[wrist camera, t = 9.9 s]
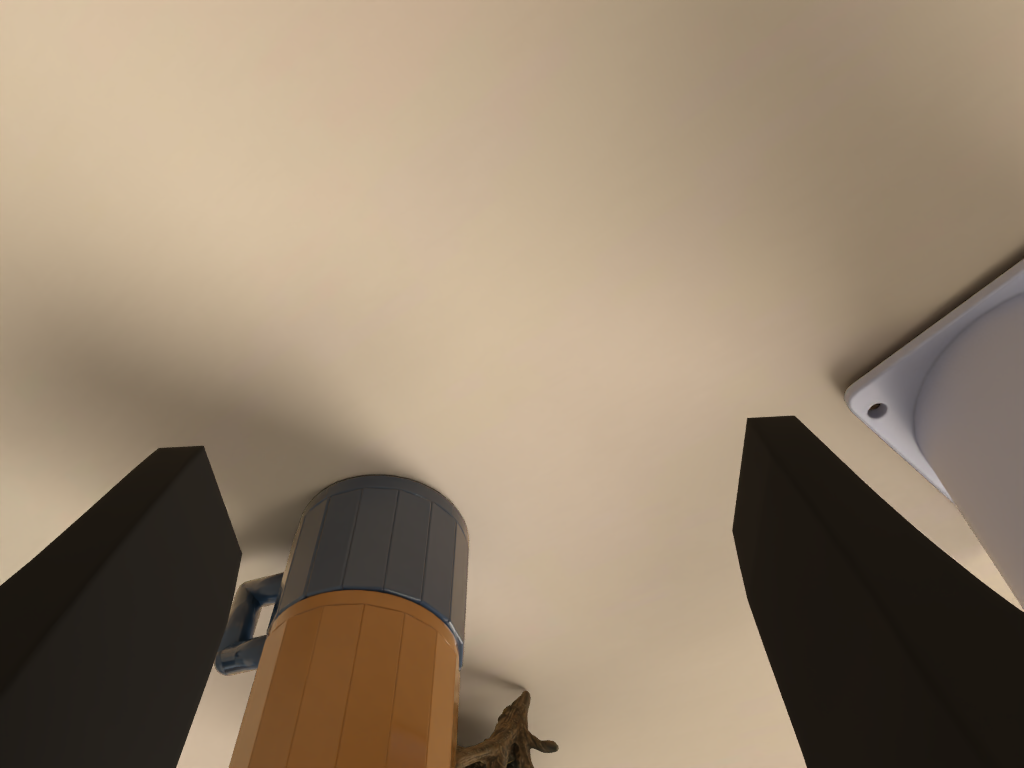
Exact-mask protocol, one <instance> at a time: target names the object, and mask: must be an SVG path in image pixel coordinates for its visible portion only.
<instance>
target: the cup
mask: <svg viewBox="0 0 1024 768" xmlns="http://www.w3.org/2000/svg"><path fill="white" fill-rule="evenodd" d="M468 556H469V534H468V530H467V526H466V524H465V521H464V519H463V517H462V516H461V514H460V513H459V511H458V510H457V509H456V507H455V506H454V505H453V504H452V503H451V502H450V501H449V500H448V499H447V498H446V497H444V496H443V495H441V494H440V493H439V492H437V491H435V490H434V489H432V488H430V487H428V486H426V485H423V484H421V483H419V482H416V481H413V480H409V479H406V478H401V477H396V476H387V475H368V476H359V477H354V478H350V479H346V480H343V481H340V482H338V483H336V484H333V485H331V486H329V487H328V488H326V489H325V490H323V491H321V492H320V493H319V494H318V495H317V496H316V497H314V498H313V499H312V501H311V502H310V503H309V504H308V505H307V507H306V509H305V510H304V512H303V515H302V517H301V520H300V523H299V527H298V530H297V532H296V534H295V537H294V540H293V543H292V547H291V550H290V554H289V557H288V561H287V564H286V568H285V571H284V572H283V573H279V574H275V575H271V576H267V577H263V578H259V579H254V580H250V581H247V582H244V583H243V584H242V585H240V586H239V588H238V589H237V592H236V595H235V598H234V601H233V604H232V607H231V610H230V614H229V618H228V623H227V626H226V629H225V632H224V635H223V638H222V641H221V643H220V646H219V649H218V652H217V655H216V658H215V660H214V667H215V669H216V670H217V671H218V672H219V673H220V674H222V675H225V676H230V675H235V674H240V673H244V672H249V671H253V670H257V668H258V665H259V661H260V658H261V654H262V651H263V647H264V644H265V640H266V638H267V635H264V636H260V637H256V638H253V635H254V632H255V629H256V626H257V622H258V619H259V616H260V612H261V609H262V607H265V606H269V605H273V604H275V605H274V609H273V612H272V616H271V619H270V623H269V626H268V630H267V634H268V632H269V629H270V627H271V626H272V624H273V622H274V621H275V620H276V619H277V618H278V616H279V615H280V614H281V613H282V612H284V611H285V610H286V609H287V608H289V607H290V606H292V605H293V604H295V603H297V602H299V601H301V600H303V599H306V598H308V597H311V596H314V595H317V594H321V593H326V592H331V591H339V590H369V591H377V592H383V593H388V594H392V595H395V596H399V597H402V598H405V599H407V600H410V601H412V602H415V603H417V604H419V605H421V606H423V607H424V608H426V609H428V610H429V611H431V612H432V613H434V614H435V615H436V616H437V617H439V618H440V619H441V620H442V621H443V622H444V623H445V624H446V625H447V626H448V628H449V629H450V631H451V632H452V634H453V635H454V638H455V640H456V642H457V645H458V648H459V658H460V660H459V671H460V670H461V668H462V666H463V655H464V637H465V617H466V596H467V576H468Z"/></svg>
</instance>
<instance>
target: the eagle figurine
mask: <svg viewBox="0 0 1024 768" xmlns="http://www.w3.org/2000/svg"><path fill="white" fill-rule="evenodd" d="M530 698H531V697H530V694H529V692H528V691H524V692H523V693H522V694H521V696H520V697H518V698H517V699H516V700H515V701H514V702H513V703H512V705H511V706H510V705H509V706H507V707H506V708H505V709H504V710H503V713H502V714H501V715H500V716H499V718H498V723H497V725H496V727H495V731H494V732H493V734H492V735H491V737H490V738H489V739H485V740H484V742H483V743H480V744H478V745H475V746H471V747H466V748H464V747H461V746H458V745H457V746H456V765H455V768H534V767H533V765H532V762H531V758H530V749H531V748H534V749H537V750H539V751H541V752H543V753H552V752H556V751H558V749H559V747H558V745H557V744H556V743H555V742H554V741H549V740H547V741H541V740H539V739H538V738H537V737H535V736H533V735H532V734H531V733H530V732H529V731H528V720H527V715H528V708H529V705H530Z"/></svg>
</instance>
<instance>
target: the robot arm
mask: <svg viewBox="0 0 1024 768" xmlns="http://www.w3.org/2000/svg"><path fill="white" fill-rule="evenodd" d="M844 401H845V402H846V404H847V406H848V408H849V409H850V411H851V412H852V413H853V414H855V415H856V416H857V417H858V418H859V419H860V420H861V421H862V422H863V423H865V424H866V425H867V426H868V427H869V428H870V429H871V430H872V431H873V432H875V433H876V434H877V435H878V436H879V437H880V438H881V439H882V440H883V441H885V442H886V443H887V444H888V445H889V446H890V447H891V448H892V449H893V450H895V451H896V452H897V453H898V454H899V455H900V456H901V457H902V458H904V459H905V460H906V461H907V462H908V463H909V464H910V465H911V466H912V467H914V468H915V469H916V470H917V471H918V472H919V473H920V474H921V475H922V476H924V477H925V478H926V479H927V480H928V481H929V482H930V483H931V484H932V485H934V486H935V487H936V488H937V489H938V490H939V491H940V492H941V493H943V494H944V495H945V496H946V497H947V498H948V499H949V500H950V501H951V502H953V503H954V504H955V505H956V506H957V508H958V509H959V511H960V512H961V514H962V515H963V517H964V519H965V520H966V522H967V523H968V525H969V526H970V528H971V529H972V531H973V532H974V534H975V535H976V537H977V539H978V540H979V542H980V543H981V545H982V546H983V548H984V549H985V551H986V552H987V554H988V556H989V557H990V559H991V560H992V562H993V563H994V565H995V566H996V568H997V569H998V571H999V572H1000V574H1001V576H1002V577H1003V579H1004V580H1005V582H1006V583H1007V585H1008V586H1009V588H1010V589H1011V591H1012V592H1013V594H1014V596H1015V597H1016V599H1017V600H1018V602H1019V603H1020V605H1021V606H1022V608H1023V609H1024V259H1022V260H1021V261H1020V262H1018V263H1017V264H1015V265H1014V266H1013V267H1011V268H1010V269H1009V270H1007V271H1006V272H1005V273H1003V274H1002V275H1000V276H999V277H998V278H996V279H995V280H994V281H992V282H991V283H990V284H988V285H987V286H985V287H984V288H983V289H981V290H980V291H979V292H977V293H976V294H975V295H973V296H972V297H970V298H969V299H968V300H966V301H965V302H964V303H962V304H961V305H959V306H958V307H957V308H955V309H954V310H953V311H951V312H950V313H949V314H947V315H946V316H944V317H943V318H942V319H940V320H939V321H938V322H936V323H935V324H934V325H932V326H931V327H929V328H928V329H927V330H925V331H924V332H923V333H921V334H920V335H918V336H917V337H916V338H914V339H913V340H912V341H910V342H909V343H908V344H906V345H905V346H903V347H902V348H901V349H899V350H898V351H897V352H895V353H894V354H893V355H891V356H890V357H888V358H887V359H886V360H884V361H883V362H882V363H880V364H879V365H877V366H876V367H875V368H873V369H872V370H871V371H869V372H868V373H867V374H865V375H864V376H862V377H861V378H860V379H858V380H857V381H856V382H854V383H853V384H852V385H851V386H850V387H849V388H848V389H847V390H846V392H845V394H844ZM880 403H881V405H880V406H879V407H878V408H876V409H873V410H868V409H869V408H870V407H871V406H873V405H875V404H880ZM732 531H733V536H734V541H735V545H736V550H737V555H738V559H739V564H740V569H741V573H742V577H743V582H744V586H745V590H746V595H747V599H748V602H749V605H750V608H751V611H752V614H753V617H754V619H755V622H756V625H757V628H758V631H759V634H760V636H761V639H762V642H763V645H764V648H765V651H766V653H767V656H768V659H769V662H770V665H771V667H772V670H773V673H774V676H775V678H776V681H777V684H778V687H779V690H780V692H781V695H782V698H783V701H784V703H785V706H786V709H787V712H788V715H789V717H790V720H791V723H792V726H793V728H794V731H795V734H796V737H797V740H798V742H799V745H800V748H801V751H802V753H803V756H804V759H805V763H806V766H807V768H1024V612H1022V611H1021V610H1020V609H1018V608H1017V607H1015V606H1014V605H1012V604H1011V603H1010V602H1008V601H1007V600H1006V599H1004V598H1003V597H1002V596H1000V595H999V594H997V593H996V592H995V591H993V590H992V589H991V588H989V587H988V586H987V585H985V584H984V583H983V582H981V581H980V580H979V579H978V578H976V577H975V576H974V575H973V574H971V573H970V572H969V571H968V570H966V569H965V568H964V567H963V566H961V565H960V564H959V563H958V562H956V561H955V560H954V559H953V558H951V557H950V556H949V555H948V554H946V553H945V552H944V551H942V550H941V549H940V548H939V547H937V546H936V545H935V544H934V543H933V542H932V541H930V540H929V539H928V538H927V537H926V536H924V535H923V534H922V533H921V532H920V531H918V530H917V529H916V528H915V527H914V526H913V525H911V524H910V523H909V522H908V521H907V520H906V519H905V518H904V517H902V516H901V515H900V514H899V513H898V512H897V511H896V510H895V509H893V508H892V507H891V506H890V505H889V504H888V503H887V502H885V501H884V500H883V499H882V498H881V497H880V496H879V495H878V494H877V493H876V492H875V491H873V490H872V489H871V488H870V487H869V486H868V485H867V484H866V483H865V482H864V481H863V480H862V479H861V478H860V477H858V476H857V475H856V474H855V473H854V472H853V471H852V470H851V469H850V468H849V467H848V466H847V465H846V464H845V463H844V462H843V461H842V460H840V459H839V458H838V457H837V456H836V455H835V454H834V453H833V452H832V451H831V450H830V449H829V448H828V447H827V446H826V445H825V444H824V443H823V442H822V441H821V440H820V439H819V438H817V437H816V436H815V435H814V434H813V433H812V432H811V431H810V430H809V429H808V428H807V427H806V426H805V425H804V424H803V423H802V422H801V421H800V420H799V419H797V418H796V417H795V416H779V417H759V418H747V424H746V432H745V439H744V447H743V455H742V462H741V470H740V477H739V485H738V492H737V500H736V507H735V515H734V522H733V530H732ZM241 556H242V552H241V549H240V547H239V544H238V541H237V538H236V535H235V533H234V530H233V527H232V524H231V521H230V518H229V516H228V513H227V510H226V507H225V504H224V502H223V499H222V496H221V493H220V490H219V488H218V485H217V482H216V479H215V476H214V473H213V471H212V468H211V465H210V462H209V459H208V457H207V454H206V451H205V448H204V446H191V447H172V448H158V449H157V450H156V451H155V452H154V453H152V454H151V455H150V456H149V457H147V458H146V459H145V460H144V461H143V462H141V463H140V464H139V465H138V466H137V467H136V468H135V469H133V470H132V471H131V472H130V473H129V474H128V475H127V476H125V477H124V478H123V479H122V480H121V481H120V482H119V483H118V484H117V485H115V486H114V487H113V488H112V489H111V490H110V491H109V492H108V493H107V494H105V495H104V496H103V497H102V498H101V499H100V500H99V501H98V502H97V503H95V504H94V505H93V506H92V507H91V508H90V509H89V510H88V511H87V512H86V513H84V514H83V515H82V516H81V517H80V518H79V519H78V520H76V521H75V522H74V523H73V524H72V525H71V526H70V527H69V528H67V529H66V530H65V531H64V532H63V533H62V534H61V535H60V536H58V537H57V538H56V539H55V540H54V541H53V542H52V543H50V544H49V545H48V546H47V547H46V548H45V549H44V550H43V551H41V552H40V553H39V554H38V555H37V556H36V557H35V558H33V559H32V560H31V561H30V562H29V563H27V564H26V565H25V566H24V567H23V568H21V569H20V570H19V571H18V572H17V573H15V574H14V575H13V576H12V577H10V578H9V579H8V580H7V581H6V582H4V583H3V584H2V585H1V586H0V768H176V766H177V763H178V761H179V758H180V755H181V752H182V750H183V747H184V744H185V741H186V739H187V736H188V733H189V730H190V727H191V725H192V722H193V719H194V716H195V714H196V711H197V708H198V705H199V703H200V700H201V697H202V694H203V691H204V689H205V686H206V683H207V680H208V678H209V675H210V672H211V669H212V666H213V663H214V660H215V658H216V655H217V652H218V649H219V646H220V643H221V641H222V638H223V635H224V632H225V629H226V626H227V623H228V618H229V614H230V610H231V605H232V601H233V596H234V592H235V587H236V582H237V577H238V572H239V567H240V562H241Z"/></svg>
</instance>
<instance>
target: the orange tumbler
mask: <svg viewBox="0 0 1024 768" xmlns="http://www.w3.org/2000/svg"><path fill="white" fill-rule="evenodd" d="M459 660H460V658H459V648H458V645H457V642H456V640H455V638H454V635H453V634H452V632H451V631H450V629H449V628H448V626H447V625H446V624H445V623H444V622H443V621H442V620H441V619H440V618H439V617H437V616H436V615H435V614H434V613H432V612H431V611H429V610H428V609H426V608H424V607H423V606H421V605H419V604H417V603H415V602H412V601H410V600H407V599H405V598H402V597H399V596H395V595H392V594H388V593H383V592H377V591H369V590H339V591H331V592H326V593H321V594H317V595H314V596H311V597H308V598H306V599H303V600H301V601H299V602H297V603H295V604H293V605H292V606H290V607H289V608H287V609H286V610H285V611H284V612H282V613H281V614H280V615H279V616H278V618H277V619H276V620H275V621H274V622H273V624H272V626H271V627H270V629H269V632H268V634H267V638H266V640H265V644H264V647H263V651H262V654H261V658H260V661H259V665H258V668H257V671H256V675H255V678H254V682H253V685H252V689H251V692H250V696H249V699H248V703H247V706H246V709H245V713H244V716H243V720H242V723H241V727H240V730H239V734H238V737H237V741H236V744H235V748H234V751H233V754H232V758H231V761H230V765H229V768H455V765H456V746H457V726H458V707H459V688H460V674H459Z"/></svg>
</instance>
